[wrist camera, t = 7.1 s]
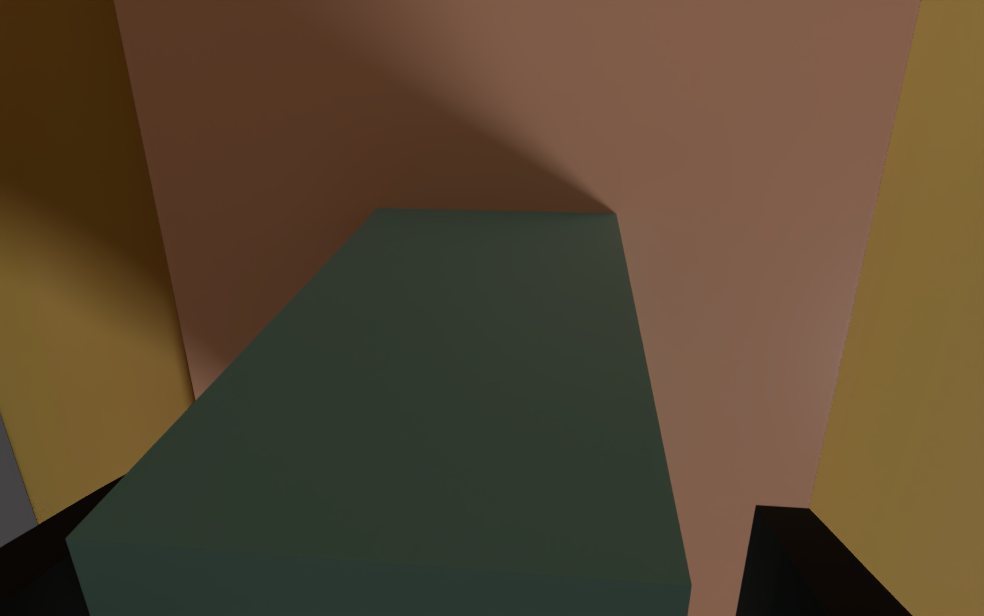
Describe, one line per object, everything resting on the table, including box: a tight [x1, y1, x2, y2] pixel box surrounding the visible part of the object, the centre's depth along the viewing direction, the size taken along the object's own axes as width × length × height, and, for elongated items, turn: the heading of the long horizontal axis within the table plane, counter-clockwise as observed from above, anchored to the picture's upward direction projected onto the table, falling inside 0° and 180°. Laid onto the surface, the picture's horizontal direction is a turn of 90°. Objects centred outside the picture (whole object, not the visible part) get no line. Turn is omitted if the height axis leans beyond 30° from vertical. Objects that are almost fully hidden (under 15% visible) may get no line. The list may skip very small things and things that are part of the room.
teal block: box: [65, 208, 692, 616], centre depth 9 cm, size 6×4×8 cm, turn 0°
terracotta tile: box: [114, 0, 921, 616], centre depth 13 cm, size 16×12×1 cm
